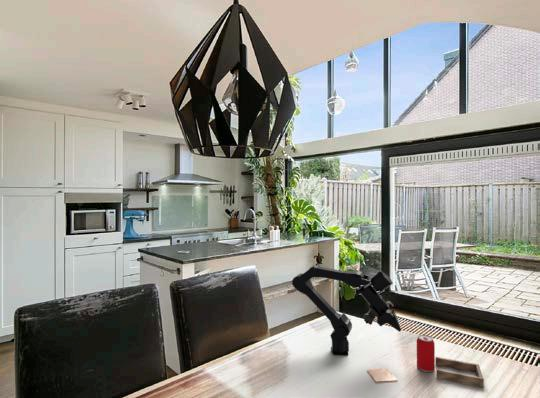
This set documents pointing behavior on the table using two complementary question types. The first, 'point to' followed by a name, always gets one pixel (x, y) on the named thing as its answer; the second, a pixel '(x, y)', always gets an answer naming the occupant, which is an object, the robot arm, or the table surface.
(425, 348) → the beverage can
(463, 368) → the walnut corral
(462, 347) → the table surface
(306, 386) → the table surface
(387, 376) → the terracotta tile
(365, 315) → the robot arm
